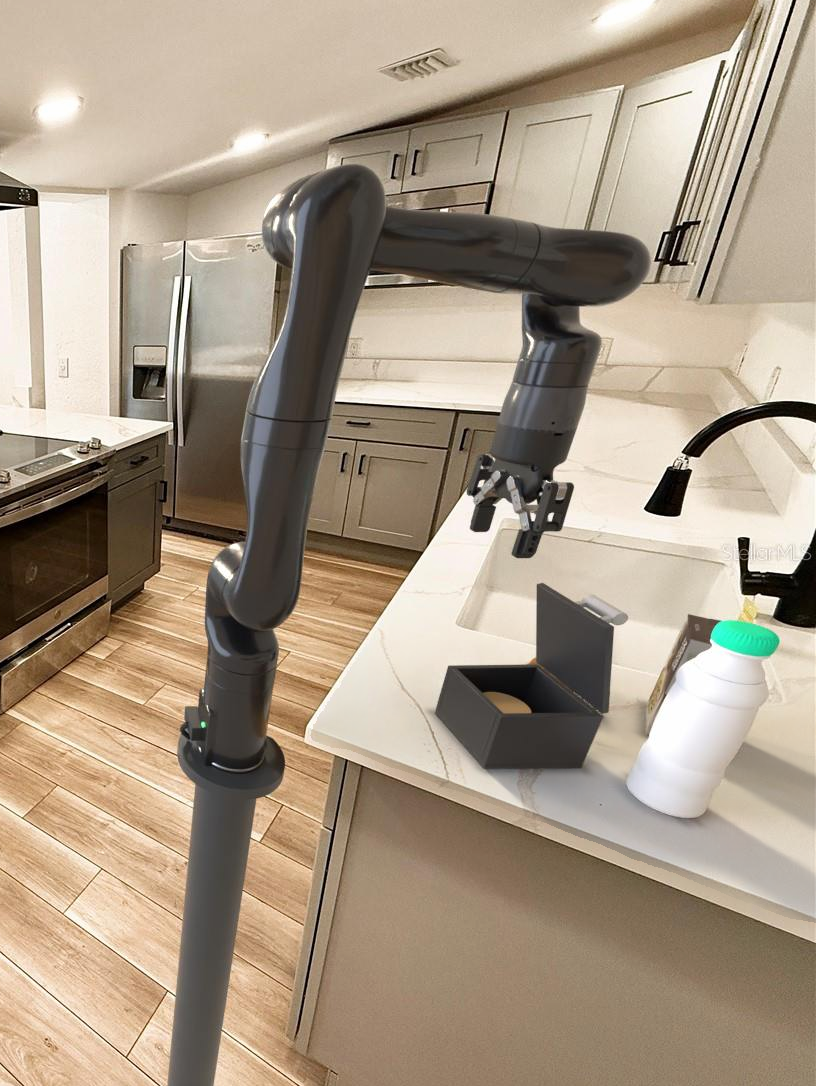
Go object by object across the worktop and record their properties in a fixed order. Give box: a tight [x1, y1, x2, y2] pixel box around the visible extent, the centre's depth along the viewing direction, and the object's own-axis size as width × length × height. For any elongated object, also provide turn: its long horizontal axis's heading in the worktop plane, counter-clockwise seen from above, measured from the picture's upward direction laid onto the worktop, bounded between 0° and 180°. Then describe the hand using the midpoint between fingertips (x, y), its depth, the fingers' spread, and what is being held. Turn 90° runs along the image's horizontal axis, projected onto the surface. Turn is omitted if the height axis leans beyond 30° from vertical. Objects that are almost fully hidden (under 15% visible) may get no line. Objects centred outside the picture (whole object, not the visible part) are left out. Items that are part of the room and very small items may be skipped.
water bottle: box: [625, 619, 781, 819], centre depth 72 cm, size 7×7×25 cm
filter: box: [483, 692, 531, 713], centre depth 86 cm, size 6×6×5 cm
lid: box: [535, 582, 629, 715], centre depth 81 cm, size 13×12×5 cm
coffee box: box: [644, 613, 722, 736], centre depth 85 cm, size 9×6×16 cm
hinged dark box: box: [434, 663, 604, 770], centre depth 86 cm, size 13×12×9 cm
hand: (499, 543), depth 80 cm, fingers open, 8 cm apart
